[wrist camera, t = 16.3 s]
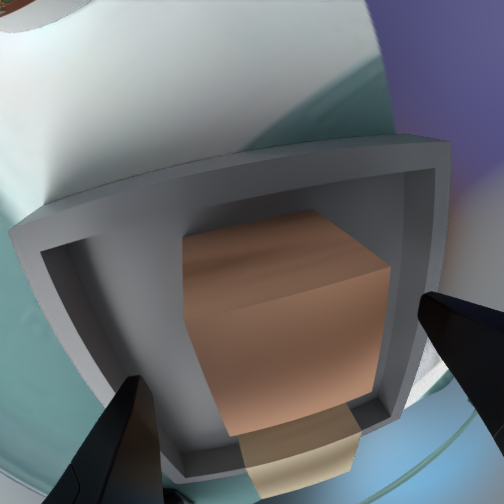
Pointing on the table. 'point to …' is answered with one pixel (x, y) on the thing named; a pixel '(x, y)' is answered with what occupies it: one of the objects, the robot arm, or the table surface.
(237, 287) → the terracotta block
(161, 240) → the charcoal tray
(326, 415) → the birch block
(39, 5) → the milk bottle
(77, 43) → the table surface
